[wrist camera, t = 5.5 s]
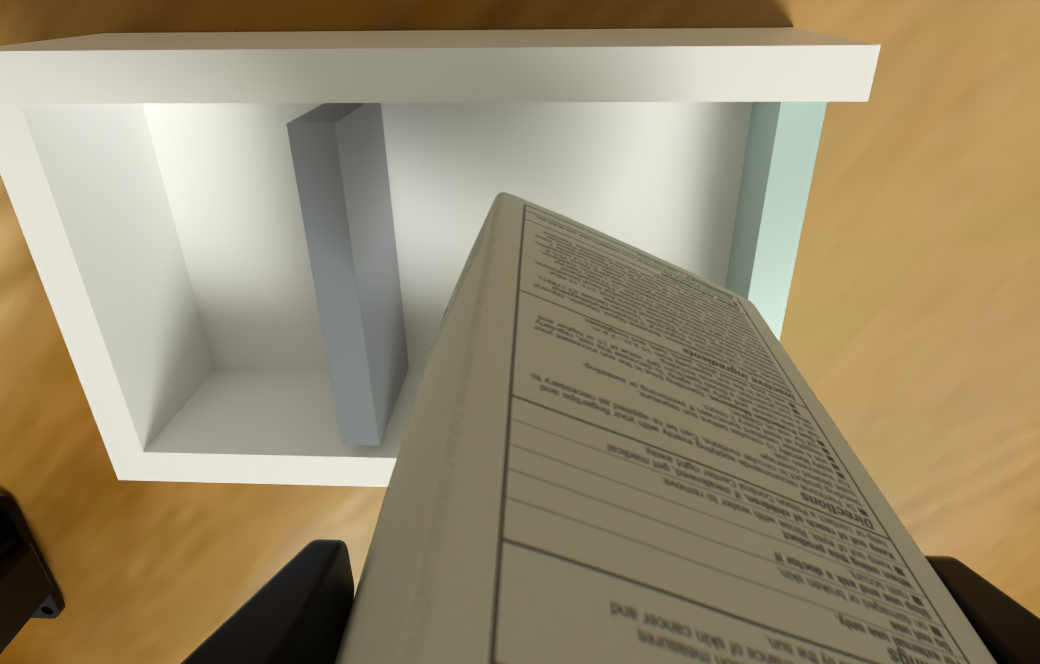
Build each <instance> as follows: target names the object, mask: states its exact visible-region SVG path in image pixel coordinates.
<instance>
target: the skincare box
mask: <svg viewBox="0 0 1040 664" xmlns="http://www.w3.org/2000/svg"><path fill="white" fill-rule="evenodd" d="M334 664H997V662H996V661H995V659H994V658H993V656H992V655H991V653H990V652H989V651H988V649H987V648H986V646H985V645H984V643H983V642H982V640H981V639H980V637H979V636H978V634H977V633H976V631H975V630H974V628H973V627H972V625H971V624H970V622H969V621H968V619H967V618H966V616H965V615H964V614H963V612H962V611H961V609H960V608H959V606H958V605H957V603H956V602H955V600H954V599H953V597H952V596H951V594H950V593H949V591H948V590H947V588H946V587H945V585H944V584H943V582H942V581H941V580H940V578H939V577H938V575H937V574H936V572H935V571H934V569H933V568H932V566H931V565H930V563H929V562H928V561H927V559H926V558H925V556H924V555H923V553H922V552H921V550H920V549H919V547H918V546H917V545H916V543H915V542H914V540H913V539H912V537H911V536H910V534H909V533H908V531H907V530H906V528H905V527H904V525H903V524H902V522H901V521H900V519H899V518H898V516H897V515H896V513H895V512H894V510H893V509H892V508H891V506H890V505H889V503H888V502H887V500H886V499H885V497H884V496H883V494H882V493H881V491H880V490H879V488H878V487H877V485H876V484H875V482H874V481H873V480H872V478H871V477H870V475H869V474H868V472H867V471H866V469H865V468H864V466H863V465H862V463H861V462H860V460H859V459H858V457H857V456H856V455H855V453H854V452H853V450H852V449H851V447H850V446H849V444H848V443H847V441H846V440H845V438H844V437H843V435H842V434H841V432H840V431H839V429H838V428H837V426H836V425H835V423H834V422H833V420H832V419H831V417H830V416H829V414H828V413H827V411H826V410H825V409H824V407H823V406H822V404H821V403H820V401H819V400H818V398H817V397H816V396H815V394H814V393H813V391H812V390H811V388H810V387H809V386H808V384H807V383H806V381H805V380H804V378H803V377H802V375H801V374H800V372H799V371H798V369H797V368H796V366H795V365H794V363H793V362H792V360H791V359H790V357H789V356H788V354H787V353H786V351H785V350H784V348H783V347H782V345H781V344H780V342H779V341H778V339H777V338H776V336H775V335H774V333H773V332H772V331H771V329H770V328H769V326H768V325H767V323H766V322H765V320H764V319H763V317H762V316H761V314H760V313H759V311H758V310H757V308H756V307H755V305H754V304H753V303H752V302H751V301H749V300H748V299H746V298H744V297H742V296H740V295H738V294H736V293H734V292H732V291H730V290H727V289H725V288H723V287H721V286H719V285H717V284H714V283H712V282H710V281H708V280H706V279H704V278H702V277H700V276H698V275H696V274H694V273H691V272H689V271H687V270H685V269H683V268H680V267H678V266H676V265H674V264H672V263H669V262H667V261H665V260H663V259H660V258H658V257H656V256H654V255H652V254H649V253H647V252H645V251H643V250H641V249H638V248H636V247H634V246H631V245H629V244H627V243H625V242H622V241H620V240H618V239H616V238H613V237H611V236H609V235H607V234H605V233H602V232H600V231H598V230H595V229H593V228H591V227H589V226H586V225H584V224H582V223H579V222H577V221H575V220H572V219H570V218H568V217H566V216H563V215H561V214H559V213H556V212H554V211H551V210H549V209H546V208H544V207H541V206H539V205H536V204H534V203H531V202H529V201H527V200H524V199H522V198H520V197H517V196H515V195H512V194H509V193H506V192H501V193H499V194H498V195H497V196H496V197H495V199H494V201H493V203H492V206H491V208H490V210H489V212H488V214H487V216H486V219H485V221H484V223H483V225H482V227H481V229H480V232H479V234H478V236H477V238H476V240H475V243H474V245H473V247H472V249H471V251H470V254H469V256H468V258H467V260H466V263H465V265H464V267H463V270H462V272H461V274H460V277H459V279H458V281H457V283H456V286H455V288H454V290H453V293H452V295H451V298H450V300H449V302H448V305H447V307H446V310H445V312H444V315H443V317H442V320H441V322H440V325H439V327H438V330H437V333H436V335H435V338H434V340H433V343H432V345H431V348H430V351H429V354H428V357H427V361H426V364H425V367H424V371H423V374H422V377H421V380H420V383H419V387H418V390H417V393H416V397H415V400H414V403H413V407H412V410H411V413H410V416H409V420H408V423H407V426H406V430H405V433H404V436H403V440H402V443H401V446H400V449H399V453H398V456H397V460H396V463H395V466H394V469H393V472H392V475H391V478H390V481H389V484H388V488H387V491H386V494H385V497H384V500H383V504H382V507H381V511H380V514H379V517H378V521H377V524H376V528H375V531H374V534H373V538H372V541H371V544H370V547H369V551H368V554H367V557H366V560H365V564H364V567H363V570H362V574H361V577H360V581H359V584H358V587H357V591H356V594H355V597H354V601H353V604H352V607H351V610H350V613H349V617H348V620H347V623H346V626H345V629H344V633H343V636H342V639H341V643H340V646H339V649H338V652H337V656H336V659H335V662H334Z"/></svg>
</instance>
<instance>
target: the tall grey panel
mask: <svg viewBox="0 0 1040 664" xmlns="http://www.w3.org/2000/svg"><path fill="white" fill-rule="evenodd" d="M286 125H287V130H288V136H289V142H290V148H291V154H292V159H293V165H294V171H295V177H296V182H297V188H298V194H299V200H300V206H301V211H302V217H303V223H304V229H305V234H306V240H307V246H308V252H309V258H310V263H311V269H312V275H313V281H314V287H315V292H316V298H317V304H318V310H319V315H320V321H321V327H322V333H323V339H324V344H325V350H326V356H327V362H328V367H329V373H330V379H331V385H332V391H333V396H334V402H335V408H336V414H337V420H338V425H339V431H340V437H341V443H342V445H368V446H380V443H381V440H382V438H383V435H384V433H385V430H386V427H387V425H388V422H389V419H390V417H391V414H392V411H393V409H394V406H395V404H396V401H397V398H398V396H399V393H400V390H401V388H402V385H403V383H404V380H405V377H406V375H407V372H408V369H409V364H408V355H407V345H406V336H405V326H404V317H403V307H402V298H401V289H400V279H399V270H398V260H397V251H396V241H395V232H394V222H393V213H392V203H391V194H390V184H389V175H388V165H387V156H386V146H385V137H384V128H383V118H382V109H381V103H324V104H322V105H320V106H318V107H316V108H314V109H313V110H311V111H309V112H307V113H305V114H303V115H301V116H300V117H298V118H296V119H294V120H292V121H290V122H288V123H286Z"/></svg>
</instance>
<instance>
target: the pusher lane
mask: <svg viewBox="0 0 1040 664" xmlns="http://www.w3.org/2000/svg"><path fill="white" fill-rule="evenodd" d="M880 46H881V45H878V44H873V43H869V42H864V41H859V40H854V39H849V38H844V37H839V36H835V35H830V34H825V33H820V32H815V31H810V30H805V29H801V28H796V27H782V28H661V29H541V30H420V31H299V32H179V33H102V34H94V35H85V36H77V37H69V38H60V39H52V40H44V41H36V42H27V43H19V44H11V45H3V46H0V174H1V177H2V179H3V182H4V185H5V187H6V190H7V192H8V195H9V197H10V200H11V203H12V205H13V208H14V210H15V213H16V216H17V218H18V221H19V223H20V226H21V229H22V231H23V234H24V236H25V239H26V242H27V244H28V247H29V249H30V252H31V255H32V257H33V260H34V262H35V265H36V268H37V270H38V273H39V275H40V278H41V281H42V283H43V286H44V288H45V291H46V293H47V296H48V299H49V301H50V304H51V306H52V309H53V312H54V314H55V317H56V319H57V322H58V325H59V327H60V330H61V332H62V335H63V338H64V340H65V343H66V345H67V348H68V351H69V353H70V356H71V358H72V361H73V364H74V366H75V369H76V371H77V374H78V377H79V379H80V382H81V384H82V387H83V389H84V392H85V395H86V397H87V400H88V402H89V405H90V408H91V410H92V413H93V415H94V418H95V421H96V423H97V426H98V428H99V431H100V434H101V436H102V439H103V441H104V444H105V447H106V449H107V452H108V454H109V457H110V460H111V462H112V465H113V467H114V470H115V473H116V475H117V478H118V480H140V481H178V482H217V483H255V484H294V485H332V486H371V487H388V484H389V481H390V478H391V475H392V472H393V469H394V466H395V463H396V460H397V456H398V453H399V449H400V446H401V443H402V440H403V436H404V433H405V430H406V426H407V423H408V420H409V416H410V413H411V410H412V407H413V403H414V400H415V397H416V393H417V390H418V387H419V383H420V380H421V377H422V374H423V371H424V367H425V364H426V361H427V357H428V354H429V351H430V348H431V345H432V343H433V340H434V338H435V335H436V333H437V330H438V327H439V325H440V322H441V320H442V317H443V315H444V312H445V310H446V307H447V305H448V302H449V300H450V298H451V295H452V293H453V290H454V288H455V286H456V283H457V281H458V279H459V277H460V274H461V272H462V270H463V267H464V265H465V263H466V260H467V258H468V256H469V254H470V251H471V249H472V247H473V245H474V243H475V240H476V238H477V236H478V234H479V232H480V229H481V227H482V225H483V223H484V221H485V219H486V216H487V214H488V212H489V210H490V208H491V206H492V203H493V201H494V199H495V197H496V196H497V195H498V194H499V193H501V192H506V193H509V194H512V195H515V196H517V197H520V198H522V199H524V200H527V201H529V202H531V203H534V204H536V205H539V206H541V207H544V208H546V209H549V210H551V211H554V212H556V213H559V214H561V215H563V216H566V217H568V218H570V219H572V220H575V221H577V222H579V223H582V224H584V225H586V226H589V227H591V228H593V229H595V230H598V231H600V232H602V233H605V234H607V235H609V236H611V237H613V238H616V239H618V240H620V241H622V242H625V243H627V244H629V245H631V246H634V247H636V248H638V249H641V250H643V251H645V252H647V253H649V254H652V255H654V256H656V257H658V258H660V259H663V260H665V261H667V262H669V263H672V264H674V265H676V266H678V267H680V268H683V269H685V270H687V271H689V272H691V273H694V274H696V275H698V276H700V277H702V278H704V279H706V280H708V281H710V282H712V283H714V284H717V285H719V286H721V287H723V288H725V289H727V290H730V291H732V292H734V293H736V294H738V295H740V296H742V297H744V298H746V299H748V300H749V301H751V302H752V303H753V304H754V305H755V307H756V308H757V310H758V311H759V313H760V314H761V316H762V317H763V319H764V320H765V322H766V323H767V325H768V326H769V328H770V329H771V331H772V332H773V333H774V335H775V336H776V338H777V339H778V341H779V339H780V334H781V329H782V324H783V319H784V314H785V309H786V304H787V299H788V294H789V289H790V284H791V279H792V274H793V269H794V264H795V259H796V254H797V249H798V244H799V239H800V234H801V229H802V224H803V219H804V214H805V209H806V204H807V199H808V194H809V189H810V184H811V179H812V174H813V169H814V164H815V159H816V154H817V149H818V144H819V139H820V134H821V129H822V124H823V119H824V115H825V110H826V105H827V102H831V101H868V99H869V95H870V90H871V86H872V81H873V77H874V73H875V68H876V64H877V60H878V55H879V51H880ZM324 103H381V109H382V118H383V128H384V137H385V146H386V156H387V165H388V175H389V184H390V194H391V203H392V213H393V222H394V232H395V241H396V251H397V260H398V270H399V279H400V289H401V298H402V307H403V317H404V326H405V336H406V345H407V355H408V364H409V369H408V372H407V375H406V377H405V380H404V383H403V385H402V388H401V390H400V393H399V396H398V398H397V401H396V404H395V406H394V409H393V411H392V414H391V417H390V419H389V422H388V425H387V427H386V430H385V433H384V435H383V438H382V440H381V443H380V446H368V445H342V443H341V437H340V431H339V425H338V420H337V414H336V408H335V402H334V396H333V391H332V385H331V379H330V373H329V367H328V362H327V356H326V350H325V344H324V339H323V333H322V327H321V321H320V315H319V310H318V304H317V298H316V292H315V287H314V281H313V275H312V269H311V263H310V258H309V252H308V246H307V240H306V234H305V229H304V223H303V217H302V211H301V206H300V200H299V194H298V188H297V182H296V177H295V171H294V165H293V159H292V154H291V148H290V142H289V136H288V130H287V125H286V123H288V122H290V121H292V120H294V119H296V118H298V117H300V116H301V115H303V114H305V113H307V112H309V111H311V110H313V109H314V108H316V107H318V106H320V105H322V104H324Z"/></svg>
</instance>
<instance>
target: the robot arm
mask: <svg viewBox="0 0 1040 664" xmlns="http://www.w3.org/2000/svg"><path fill="white" fill-rule="evenodd" d="M925 558H926V559H927V561H928V562H929V563H930V565H931V566H932V568H933V569H934V571H935V572H936V574H937V575H938V577H939V578H940V580H941V581H942V582H943V584H944V585H945V587H946V588H947V590H948V591H949V593H950V594H951V596H952V597H953V599H954V600H955V602H956V603H957V605H958V606H959V608H960V609H961V611H962V612H963V614H964V615H965V616H966V618H967V619H968V621H969V622H970V624H971V625H972V627H973V628H974V630H975V631H976V633H977V634H978V636H979V637H980V639H981V640H982V642H983V643H984V645H985V646H986V648H987V649H988V651H989V652H990V653H991V655H992V656H993V658H994V659H995V661H996V662H997V664H1040V618H1038V617H1037V616H1035V615H1034V614H1033V613H1031V612H1030V611H1028V610H1027V609H1026V608H1024V607H1023V606H1021V605H1020V604H1019V603H1017V602H1016V601H1015V600H1013V599H1012V598H1010V597H1009V596H1008V595H1006V594H1005V593H1003V592H1002V591H1001V590H999V589H998V588H996V587H995V586H994V585H992V584H991V583H990V582H988V581H987V580H985V579H984V578H983V577H981V576H980V575H978V574H977V573H976V572H974V571H973V570H972V569H970V568H969V567H967V566H966V565H965V564H963V563H962V562H960V561H959V560H957V559H955V558H953V557H949V556H925ZM353 599H354V581H353V576H352V570H351V565H350V560H349V554H348V549H347V546H346V544H345V542H343V541H341V540H320V539H318V540H314V541H312V542H310V543H309V544H308V545H306V546H305V547H304V548H303V549H302V550H301V551H300V552H299V553H298V554H297V555H296V556H295V557H294V558H293V559H292V560H290V561H289V562H288V563H287V564H286V565H285V566H284V567H283V568H282V569H281V570H280V571H279V572H278V573H277V574H276V575H274V576H273V577H272V578H271V579H270V580H269V581H268V582H267V583H266V584H265V585H264V586H263V587H262V588H261V589H260V590H258V591H257V592H256V593H255V594H254V595H253V596H252V597H251V598H250V599H249V600H248V601H247V602H246V603H245V604H244V605H243V606H241V607H240V608H239V609H238V610H237V611H236V612H235V613H234V614H233V615H232V616H231V617H230V618H229V619H228V620H227V621H225V622H224V623H223V624H222V625H221V626H220V627H219V628H218V629H217V630H216V631H215V632H214V633H213V634H212V635H211V636H209V637H208V638H207V639H206V640H205V641H204V642H203V643H202V644H201V645H200V646H199V647H198V648H197V649H196V650H195V651H193V652H192V653H191V654H190V655H189V656H188V657H187V658H186V659H185V660H184V661H183V662H182V663H181V664H334V662H335V659H336V656H337V652H338V649H339V646H340V643H341V639H342V636H343V633H344V629H345V626H346V623H347V620H348V617H349V613H350V610H351V607H352V604H353ZM64 608H65V603H64V601H63V599H62V597H61V594H60V592H59V590H58V588H57V586H56V584H55V582H54V580H53V578H52V576H51V574H50V572H49V570H48V568H47V566H46V564H45V562H44V560H43V558H42V556H41V554H40V552H39V550H38V548H37V546H36V544H35V542H34V539H33V537H32V535H31V533H30V531H29V529H28V527H27V525H26V523H25V521H24V519H23V517H22V515H21V513H20V511H19V509H18V507H17V505H16V504H15V503H14V502H13V501H12V500H11V499H9V498H6V497H3V496H0V654H1V653H2V652H3V650H4V649H5V648H6V647H7V645H8V644H9V643H10V642H11V641H12V639H13V638H14V637H15V636H16V635H17V633H18V632H19V631H20V630H21V628H22V627H23V626H24V625H25V624H26V622H27V621H28V620H29V619H30V618H56V617H58V616H59V615H60V613H61V612H62V611H63V609H64Z"/></svg>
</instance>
